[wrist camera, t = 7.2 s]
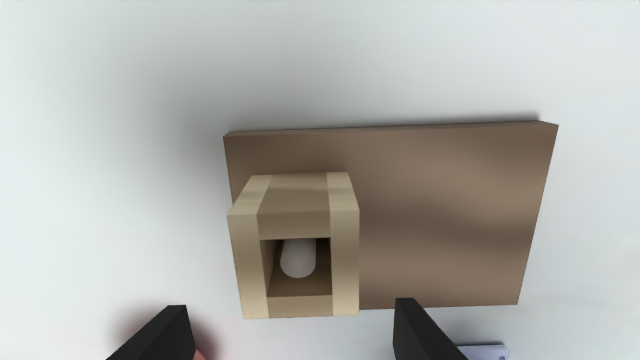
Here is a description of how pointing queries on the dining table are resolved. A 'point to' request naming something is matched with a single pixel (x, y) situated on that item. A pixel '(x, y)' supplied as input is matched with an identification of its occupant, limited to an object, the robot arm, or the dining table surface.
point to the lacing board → (419, 203)
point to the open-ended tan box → (290, 223)
